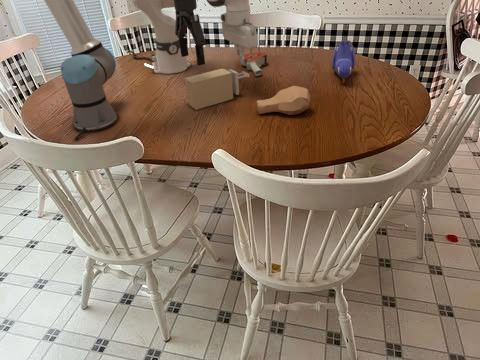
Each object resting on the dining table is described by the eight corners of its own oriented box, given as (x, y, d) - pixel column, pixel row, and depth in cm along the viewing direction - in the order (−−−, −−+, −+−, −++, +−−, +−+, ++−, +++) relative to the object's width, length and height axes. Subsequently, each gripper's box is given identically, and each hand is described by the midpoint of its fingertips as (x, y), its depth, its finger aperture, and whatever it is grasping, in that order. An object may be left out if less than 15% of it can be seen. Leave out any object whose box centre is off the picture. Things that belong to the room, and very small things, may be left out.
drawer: (244, 86, 152) (243, 66, 146) (251, 90, 148) (250, 69, 143) (198, 99, 143) (195, 78, 138) (204, 104, 139) (202, 82, 134)
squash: (314, 116, 128) (313, 95, 122) (259, 125, 130) (256, 105, 124) (308, 99, 136) (307, 78, 129) (257, 108, 138) (253, 88, 131)
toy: (330, 77, 169) (331, 86, 146) (332, 39, 162) (333, 43, 140) (352, 76, 166) (356, 85, 144) (355, 38, 160) (360, 41, 137)
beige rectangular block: (225, 93, 149) (223, 68, 143) (233, 98, 144) (231, 72, 138) (188, 104, 142) (184, 78, 136) (195, 109, 138) (192, 83, 131)
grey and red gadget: (258, 80, 163) (278, 64, 175) (258, 69, 159) (279, 54, 172) (226, 73, 170) (248, 58, 183) (226, 62, 167) (248, 48, 179)
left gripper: (212, -1, 112) (218, 66, 125) (179, -9, 130) (187, 50, 142) (190, 3, 109) (199, 71, 122) (159, -6, 127) (170, 54, 139)
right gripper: (261, 21, 126) (261, 60, 134) (232, 12, 140) (234, 48, 149) (246, 24, 123) (247, 63, 132) (218, 14, 138) (221, 51, 146)
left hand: (192, 60), depth 132 cm, fingers open, 13 cm apart
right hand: (240, 55), depth 140 cm, fingers closed
